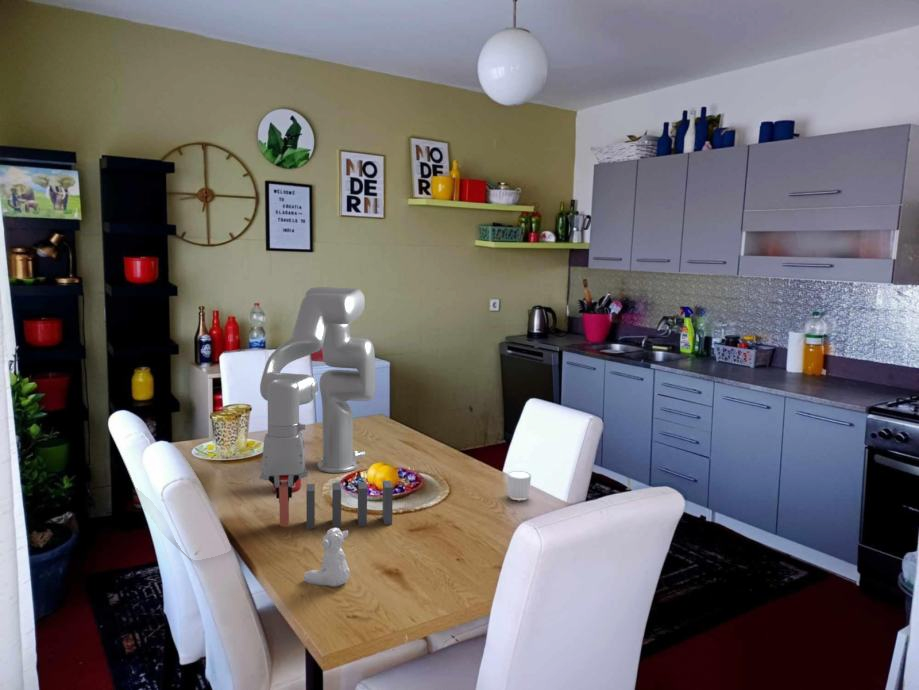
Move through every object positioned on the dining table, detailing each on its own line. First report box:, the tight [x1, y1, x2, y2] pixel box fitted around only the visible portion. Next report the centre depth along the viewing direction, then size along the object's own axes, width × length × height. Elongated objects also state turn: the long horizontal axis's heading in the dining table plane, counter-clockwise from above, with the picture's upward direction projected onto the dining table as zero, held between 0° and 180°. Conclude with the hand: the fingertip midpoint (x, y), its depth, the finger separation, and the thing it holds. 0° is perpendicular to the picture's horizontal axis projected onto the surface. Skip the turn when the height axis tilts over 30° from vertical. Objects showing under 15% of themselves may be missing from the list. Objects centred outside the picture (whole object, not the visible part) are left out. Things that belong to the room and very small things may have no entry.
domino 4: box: [382, 480, 394, 526], centre depth 174 cm, size 2×5×10 cm, turn 12°
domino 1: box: [305, 483, 316, 530], centre depth 170 cm, size 2×5×10 cm, turn 12°
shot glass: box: [507, 470, 532, 498], centre depth 193 cm, size 7×7×7 cm
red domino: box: [278, 480, 290, 527], centre depth 168 cm, size 2×5×10 cm, turn 11°
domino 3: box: [357, 481, 368, 527], centre depth 173 cm, size 2×5×10 cm, turn 12°
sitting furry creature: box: [303, 527, 351, 588], centre depth 142 cm, size 10×9×12 cm
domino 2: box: [331, 482, 342, 529], centre depth 171 cm, size 2×5×10 cm, turn 12°
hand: (284, 500), depth 168 cm, fingers closed on red domino, 1 cm apart
